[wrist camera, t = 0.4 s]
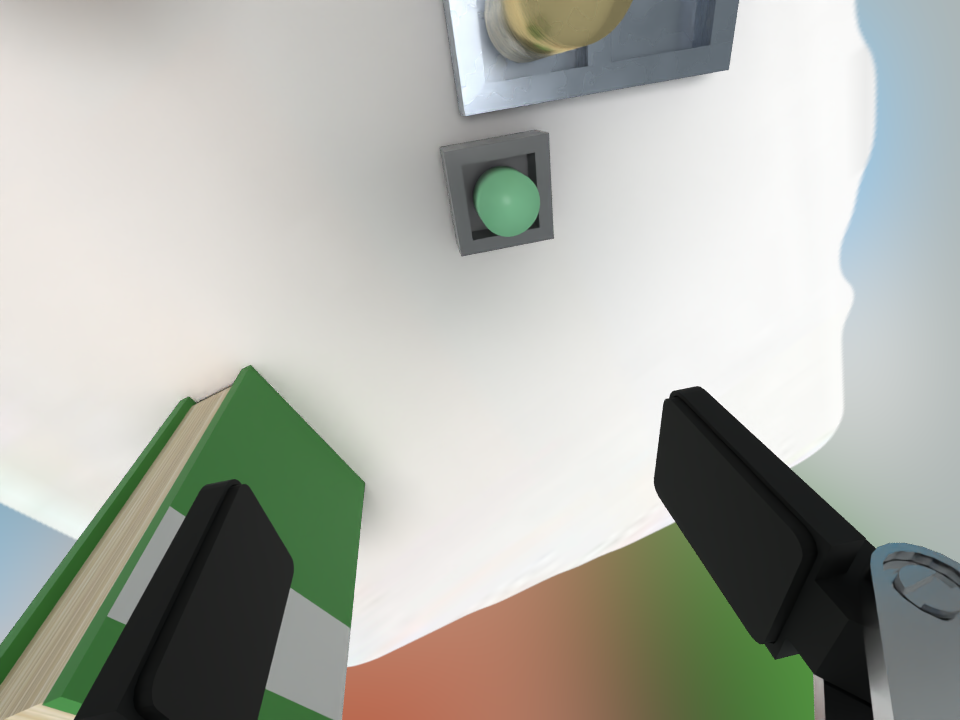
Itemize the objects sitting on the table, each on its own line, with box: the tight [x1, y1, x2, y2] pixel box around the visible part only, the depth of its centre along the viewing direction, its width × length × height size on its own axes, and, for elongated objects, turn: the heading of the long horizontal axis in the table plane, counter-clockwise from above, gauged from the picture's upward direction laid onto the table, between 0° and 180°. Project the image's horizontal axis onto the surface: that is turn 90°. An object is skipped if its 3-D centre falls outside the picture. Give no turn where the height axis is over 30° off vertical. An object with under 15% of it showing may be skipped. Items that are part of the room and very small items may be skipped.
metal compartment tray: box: [443, 0, 739, 116], centre depth 25 cm, size 18×10×3 cm, turn 98°
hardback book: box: [0, 365, 365, 720], centre depth 31 cm, size 18×7×24 cm, turn 25°
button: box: [473, 166, 540, 237], centre depth 28 cm, size 4×4×3 cm
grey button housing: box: [440, 130, 554, 256], centre depth 30 cm, size 7×7×3 cm
